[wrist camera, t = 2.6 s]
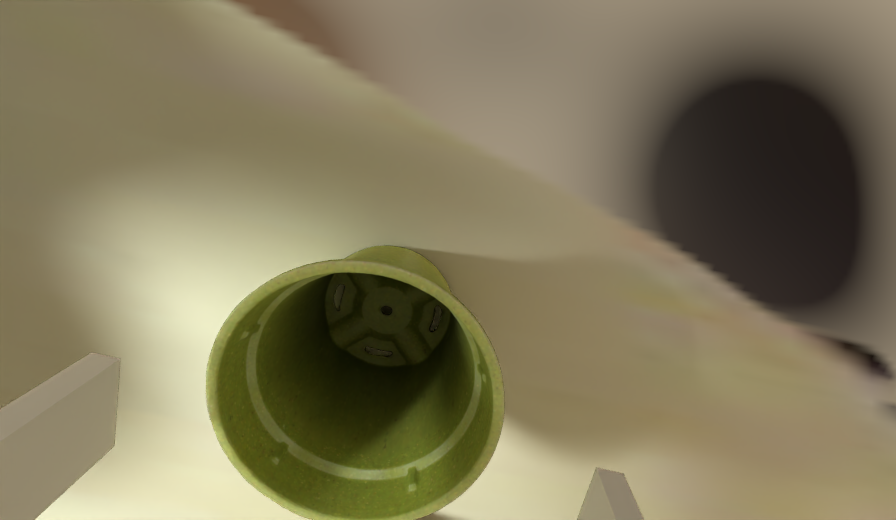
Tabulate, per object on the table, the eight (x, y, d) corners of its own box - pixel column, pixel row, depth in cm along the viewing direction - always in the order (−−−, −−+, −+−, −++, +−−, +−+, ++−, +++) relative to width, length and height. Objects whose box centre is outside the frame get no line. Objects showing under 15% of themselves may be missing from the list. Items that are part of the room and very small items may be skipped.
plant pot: (509, 231, 23) (538, 295, 15) (466, 410, 26) (470, 552, 17) (304, 189, 23) (216, 232, 15) (281, 375, 25) (195, 503, 17)
